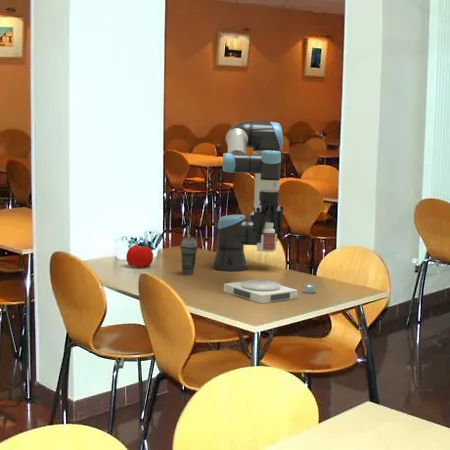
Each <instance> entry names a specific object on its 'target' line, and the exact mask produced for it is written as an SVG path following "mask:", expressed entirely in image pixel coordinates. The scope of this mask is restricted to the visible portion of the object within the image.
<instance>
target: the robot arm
mask: <svg viewBox="0 0 450 450" xmlns="http://www.w3.org/2000/svg"><path fill="white" fill-rule="evenodd" d="M283 138H284V135H283V129H282V126H281V124H280V123H279V122H275V121H258V120H257V121H255V120H254V121H253V120H243V121H239V122H237V123H235V124H233V125H232V126H231V127H230V128H229V129H228V130H227V132H226V134H225V142H226V145H227V152H225V153H223V154H222V172H226V173H231V174H232V173H236V174H237V173H238V174H255V175H254V176H255V177H254V198H253V199H254V200H253V211H251V213H250V214H249V218H247V217H246V215H245V214H230V215H224V216H220V218H219V219H218V225H217V243H216V252H215V253H214V254H215V255H214V257H213V261H212V264H211V265H212V268H213V269H215V270H219V271H228V272H238V271H239V272H240V271H245V270H247V268H248V267H247V266H248V262H247V259H246V255H245V250H244V248H245V247H244V246H256V251H257V252H261V253H262V252H263V238H264V235H262V232H263V229H264V225H265V222H272V223H274V226H273V229H274V230H275V247H274V251H273V252H275V251H277V242H278V241H279V240H278V239H279V234H281V232H283V212H284V206H282V205H279V204H278V202H279V201H280V192H279V191H280V184H281V182H280V181H281V165H282V164H281V163H282V154H281V151H280V150H283V148H284V139H283ZM247 148H249V149H252V153H247ZM259 230H260V231H259ZM263 253H264V252H263Z"/></svg>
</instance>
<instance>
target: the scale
mask: <svg viewBox="0 0 450 450" xmlns="http://www.w3.org/2000/svg"><path fill="white" fill-rule="evenodd" d="M223 292H225V293H228V294H231V295H234V296H237V297H239V298H243V299H245V300H249V301H252V302H255V303H258V304H262V305H263V304H268V303H274V302H281V301H287V300H294V299H298V295H299V294H298V293H299V290H298V289H294V288H291V287H287V286H284V285H282V284H281V283H280V282H277V281H273V280H270V279H269V280H268V279H260V278H258V279H247V280H246V279H245V280H242V281H235V282H227V283H224V284H223Z"/></svg>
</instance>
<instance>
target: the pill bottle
mask: <svg viewBox="0 0 450 450" xmlns="http://www.w3.org/2000/svg"><path fill="white" fill-rule="evenodd" d="M273 226H274V223H272V222H265V225H264V229H263V232H262V235H264V238H263V253H273V252H275V251H274V247H275V230H274V229H273ZM259 231H260V230H259Z"/></svg>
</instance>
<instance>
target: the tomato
mask: <svg viewBox="0 0 450 450" xmlns="http://www.w3.org/2000/svg"><path fill="white" fill-rule="evenodd" d="M125 257H126V259H125V260H126V263H127V264H128V265H129V266H130V267H135V268H138V269H141V268H148V267H149V266H151V264H153V261H154V253H153V250H152V249H151V248H150V247H148V246H143V245H142V246H140V245H137V244H134V245H132V246H130V247H129V248H128V250H127V253H126V256H125Z"/></svg>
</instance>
